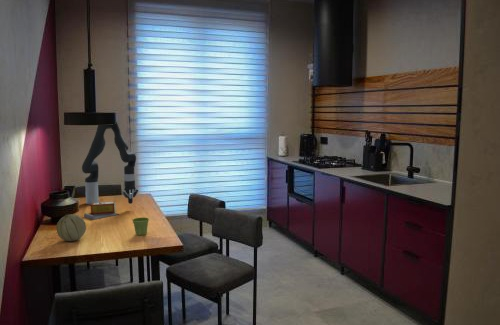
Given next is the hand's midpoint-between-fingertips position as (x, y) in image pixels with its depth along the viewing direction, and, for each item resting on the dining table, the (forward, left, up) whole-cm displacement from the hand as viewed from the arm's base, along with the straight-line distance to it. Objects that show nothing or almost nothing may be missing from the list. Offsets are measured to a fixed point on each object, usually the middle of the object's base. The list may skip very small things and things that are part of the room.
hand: (130, 203), depth 301 cm
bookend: (+2, -23, -5) cm, 24 cm away
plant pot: (+61, -32, -5) cm, 69 cm away
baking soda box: (-1, -12, -1) cm, 12 cm away
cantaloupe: (+43, -64, -5) cm, 77 cm away
